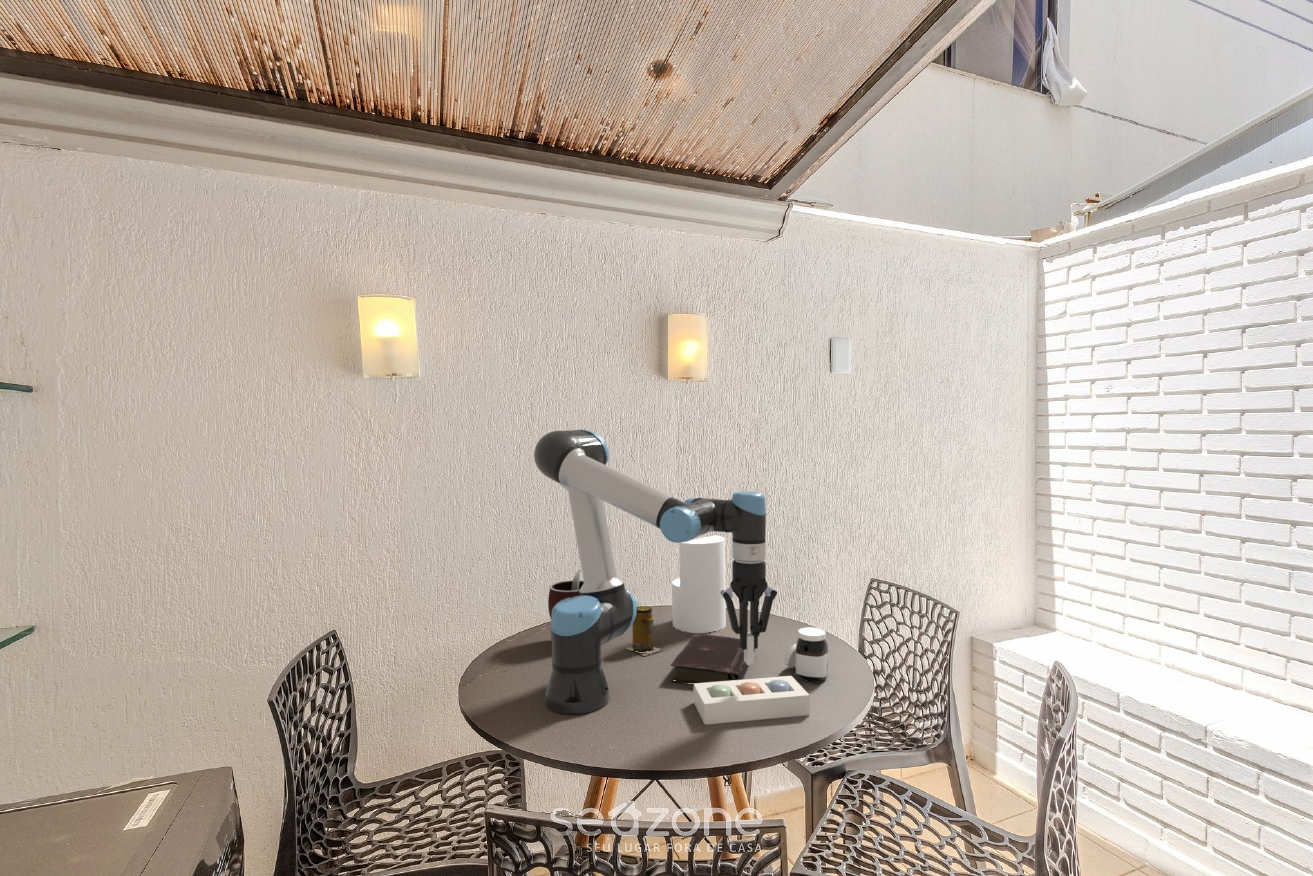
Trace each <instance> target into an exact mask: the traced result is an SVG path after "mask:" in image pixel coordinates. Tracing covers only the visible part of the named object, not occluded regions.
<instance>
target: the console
mask: <svg viewBox="0 0 1313 876" xmlns="http://www.w3.org/2000/svg"><path fill="white" fill-rule="evenodd" d="M773 680H783V681H786V682H788V683H789V691H786V692H774V693H772V692H771V691H770V682H771V681H773ZM745 682H753V683H757V684H758V685H759V686H760V694H750V695H742V694H741V693H740V685H741V684H742V683H745ZM719 684H721V685H726V686H729V687H730V696H726V697H714V698H712V697H711V687H712V686H714V685H719ZM810 696H811V695H810V694H809V693H808V691H806V690H805V689H804V688H803V687H802V685H801V684H800V683H799V682H798V681H797V680H796V679H795V678H794V676H792V675H785V676H782V675H781V676H773V677H772V676H771V677H760V678H746V679H744V678H743V680H739V679H737V680H730V681H719V682H707V683H694V685H693V704H694V707H695V708H696V710H697V712H698V713H699V716H700V718H701V720H702V722H703V724H704V725H714V724H715V725H716V724H726V723H736V722H747V721H748V722H749V721H760V720H770V719H772V720H773V719H780V718H781V719H782V718H793V717H804V716H805V717H806V716H810V715H811V714H810V713H811V708H810V707H811V706H810V699H811V697H810Z"/></svg>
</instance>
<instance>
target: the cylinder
mask: <svg viewBox="0 0 1313 876" xmlns="http://www.w3.org/2000/svg"><path fill="white" fill-rule="evenodd" d="M725 539H726V538H725V537H723V536H721V535H716V534H715V535H710V536H706V537H700V538H696V539H695V538H694V539H692V540H690V541H687V542H681V543H678V544H679V577H678V578H675V579H674V580H673V581H672V582H671V594H672V595H671V598H672V600H671V601H672V602H671V603H672V605H671V606H672V608H671V609H672V627H673V628H674V627H675V628H674V629H675V630H678V629H679V630H678V631H680V630H681V631H680V632H684V631H686V632H685V633H689V632H690V634H710V633H709V632H711V633H714V632H713V631H716V632H719V631H718V630H720V629H722V630H723V628H724V627H725V628H726V626H727V622H726V621H727V618H726V617H727V614H726V612H727V611H726V610H727V606H726V602H725V599H724V598H723V596H722V595H721V591H722V590H726V540H725ZM725 628H724V629H725ZM720 631H721V630H720Z"/></svg>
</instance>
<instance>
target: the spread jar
mask: <svg viewBox="0 0 1313 876" xmlns="http://www.w3.org/2000/svg"><path fill="white" fill-rule="evenodd" d="M797 637H798V638H797V640H796V643H794V644H793V645H791V647H790V648H789V649H788V651H786V654H785V655H784V656H785V657H784V662H783V663H784V665H785V666H786V667H787V668H789V669H791V668H792V669H794V668H793V667H795V674H796V676H797V677H798V678H799V679H801V680H802V679H803V681H805V680H807V681H806V682H810V681H812V682H811V683H817V682H818V681H820V682H823V681H825V680H826V679H827V677H828V672H829V671H828V668H829V657H828V656H829V649H828V647H829V645H828V642H827V640H826V631H825V630H823V629H822V628H818V627H811V626H810V627H808V626H807V627H802V628H799V629H798V630H797Z"/></svg>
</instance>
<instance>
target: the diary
mask: <svg viewBox="0 0 1313 876" xmlns="http://www.w3.org/2000/svg"><path fill="white" fill-rule="evenodd" d="M755 651H756V649H754V653H755ZM749 666H750V665H747V664H746V663H745V661H744V650H742V648H741V647H740V638H735V637H729V636H723V635H714V634H701V633H695V634H693V635H692V636H691V638H690V640H688V642H687V643H686V645H685V646H684V648H683V649H682V650H681V651H680V652H679V653H678V654H677V655H676V657H675V659H673V662H672V663H671V664H670V667H675V669H674V671H675V673H674V674H675V676H674V677H673V678H672V679H671V681H670V683H674V684H676V683H677V684H682V683H707V682H719V681H732V680H744V678H745V675H746V672H747V670H748V668H749ZM730 679H732V680H730ZM673 680H676V681H673Z"/></svg>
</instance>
